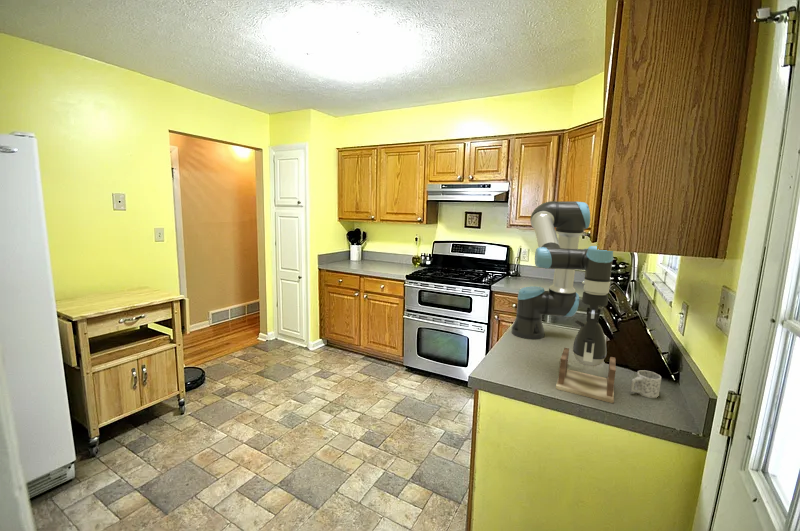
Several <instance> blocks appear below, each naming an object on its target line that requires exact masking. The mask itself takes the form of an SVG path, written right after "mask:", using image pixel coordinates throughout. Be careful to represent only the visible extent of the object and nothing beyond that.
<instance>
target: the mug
mask: <svg viewBox="0 0 800 531" xmlns="http://www.w3.org/2000/svg"><path fill="white" fill-rule="evenodd" d="M661 383H662V376H661V375H660V374H658V373H656V372H654V371H650V370H645V369H644V370H641V369H640V370H637V373H636V377H634V378H632V379H631V380H630V385H629V386H630V387H629V388H630V392H632V393H637V395H640V396H641V397H646V398H649V399H657V397H658V396H660V389H661ZM658 398H659V397H658Z"/></svg>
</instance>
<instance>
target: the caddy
mask: <svg viewBox="0 0 800 531" xmlns="http://www.w3.org/2000/svg"><path fill="white" fill-rule="evenodd" d="M569 355H570V348H568V347H564V348H563V351H562V354H561V356H560V361H559V368H558V369H559V370H558V378H557V381H556V384H555V390H558V391H562V392H567V393H571V394H575V395H578V396H579V395H580V396H583V397H587V398H591V399H594V400H599V401H603V402H606V403H611V404H614V402H615V401H614V400H615V397H614V396H615V395H614V394H615V393H614V392H615V379H616V378H615V377H616V370H617V369H616V365H617V364H616V357H613V356H610V357H609V363H608V370H607V377H603V376H599V375H595V374H589V373H585V372H582V371H581V372H580V371H576V370H571V369H568V365H569V357H570V356H569Z"/></svg>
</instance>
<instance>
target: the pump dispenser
mask: <svg viewBox="0 0 800 531" xmlns="http://www.w3.org/2000/svg"><path fill="white" fill-rule="evenodd" d="M574 322H575V323H576V324H577V325H578V326H579V330H578V332H577V334H576V337H575V339H574V342H573V345H572V352H573V355H574V358H575V359H576V361H577V362H578V363H580V364H582V365H584V366H588V367H596V366H600V365H601V364H602V363H603V362H604V361H605V359H606V357H607V341H606V336H605V333H604V330H603V328H602V326H601V324H600V323H599V322H598V324H596V330H595V339H594V341H595V343H594V352H593V361H592V362H588V361H583V357H584V348H585V342H583V340H585V339H586V333H587V324H588V322H587V320H586V321H585V322H582V321H580V320H578V319H576V320H575V321H574ZM588 339H590V338H588Z"/></svg>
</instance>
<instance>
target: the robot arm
mask: <svg viewBox="0 0 800 531" xmlns="http://www.w3.org/2000/svg"><path fill="white" fill-rule="evenodd" d="M529 219H530V226H531V227H532V228H533V230H534V232H535V238H536V241H537V246H538V247H537V248H536V249H535V252H534V253H535V254H534V265H535V267H537V268H543V269H554V273H553V281H552V284H551V285H549V286H548V290H545V288H544V287H541V286H524V287H522V288H520V289H519V290H518V294H517V304H516V305H517V306H516V315H515V316H516V317H515V319H514V322H513V324H512V327H511V334H513V335H514V336H517V337H519V338H522V339H528V340H540V339H543V338H544V337H545V329H544V326H543V322H542V320H543V319H542V318H543V315H545V316H553V317H554V316H555V317H565V318H566V317H570V318H571V317H573V316H574V315H575V314H576V313H577V311H578V309H579V304H580V295H579V293H578V292H576V291H577V289H575V287H574V281H575V272H576V271H584V280H583V281H582V282H581V284H582V285H583V292H582V298H581V301H582V303H583V304H585V305H589V307H587V309H586V315H587V316H586V321H587V322H588V324H587V333H586V339H585V340H583V342H585V348H584V357H583V361H588V362H592V361H593V352H594V343H595V341H594V339H595V330H596V324H598V323H599V318H600V316H601V309H599V307H607V306H608V302H609V295H608V294H609V292H610V287H611V286H610V285H611V276H612V267H613V261H614V250H613V251H607V250H599V249H598V250H597V246H598V245H591V246H588V248H579V242H580V236H582V235H583V234H584V232H585V230H587V229H588V228H590V224H591V211H590V207H589V205H588V203H587V202H584V201H555V200H554V201H551V200H550V201H546V202H543V203H542V204H539V205H538V206H536V207H535V209H534V210H533V211H532V212H531V216H530V218H529ZM557 234H558V235H557ZM588 338H590V339H588Z"/></svg>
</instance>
